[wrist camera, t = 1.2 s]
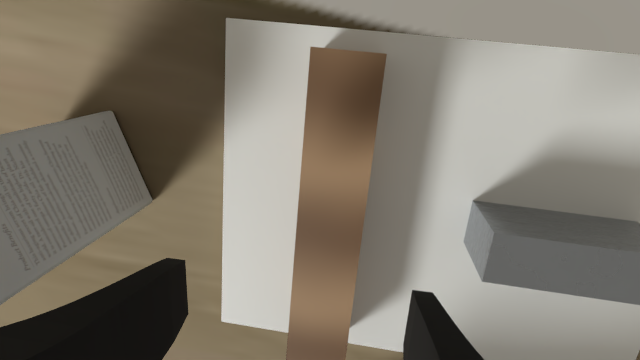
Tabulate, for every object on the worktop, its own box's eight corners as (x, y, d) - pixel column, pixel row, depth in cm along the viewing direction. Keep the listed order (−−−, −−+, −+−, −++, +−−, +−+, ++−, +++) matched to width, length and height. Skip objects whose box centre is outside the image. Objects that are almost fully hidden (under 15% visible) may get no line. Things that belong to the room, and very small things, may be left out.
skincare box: (55, 128, 24) (-235, 195, 13) (114, 108, 23) (-141, 160, 12) (99, 219, 25) (-124, 351, 14) (156, 203, 24) (-34, 331, 13)
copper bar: (347, 329, 24) (342, 380, 20) (299, 321, 24) (285, 369, 21) (384, 54, 19) (386, 53, 15) (323, 48, 19) (310, 46, 16)
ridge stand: (739, 64, 18) (867, 67, 13) (613, 376, 24) (671, 456, 19) (232, 19, 21) (189, 8, 16) (227, 311, 26) (193, 368, 21)
